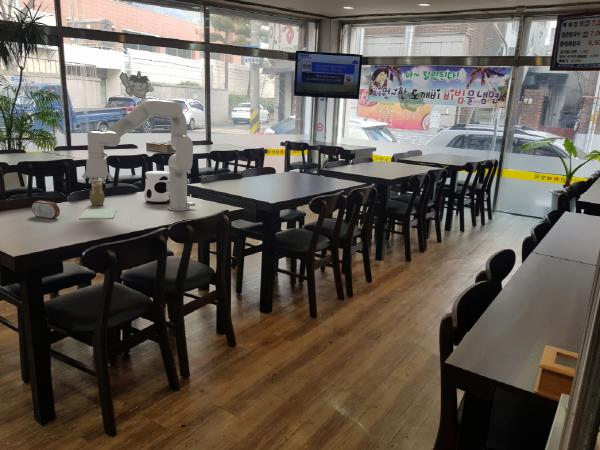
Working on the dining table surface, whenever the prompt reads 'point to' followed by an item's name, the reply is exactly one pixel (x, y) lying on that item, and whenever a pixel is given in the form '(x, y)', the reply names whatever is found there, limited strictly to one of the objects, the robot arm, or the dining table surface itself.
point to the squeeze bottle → (97, 196)
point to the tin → (45, 209)
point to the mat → (98, 214)
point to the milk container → (157, 186)
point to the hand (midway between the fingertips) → (97, 190)
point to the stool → (97, 183)
